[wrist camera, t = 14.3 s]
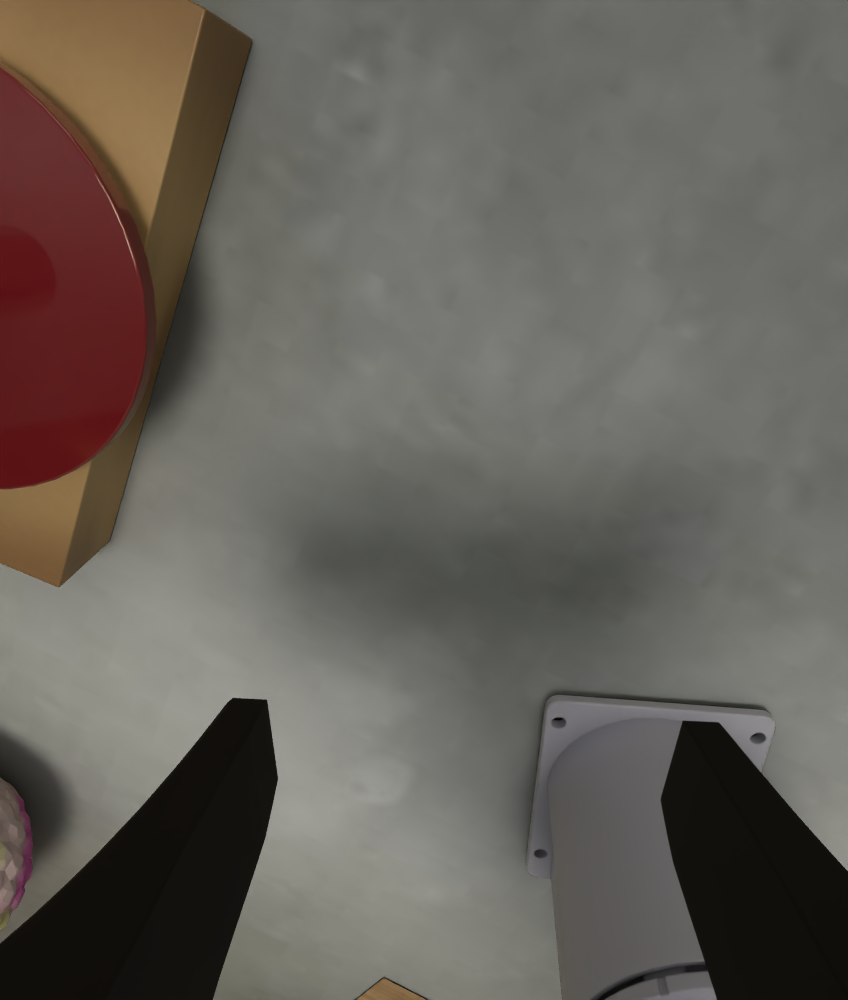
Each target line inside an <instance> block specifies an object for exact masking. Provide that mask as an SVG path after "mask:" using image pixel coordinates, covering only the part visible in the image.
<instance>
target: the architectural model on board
mask: <svg viewBox="0 0 848 1000" xmlns="http://www.w3.org/2000/svg"><path fill="white" fill-rule="evenodd" d="M357 1000H426V999H424V998H422V997H420V996H418V995H416V994H414V993H412V992H410V991H408V990H406V989H404V988H402V987H400V986H398V985H396V984H394V983H392V982H391V981H389V980H387V979H385V978H383V979H382V980H381V981H379V982H378V983H377V984H376V985H374V986H373V987H372V988H371V989H369V990H368V991H367V992H366V993H364V994H363V995H362V996H361V997H359V998H358V999H357Z"/></svg>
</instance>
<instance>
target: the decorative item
mask: <svg viewBox="0 0 848 1000" xmlns="http://www.w3.org/2000/svg"><path fill="white" fill-rule="evenodd" d="M30 825H31V822H30V818H29V816H28V815H27V813H26V811H25V808H24V800H23V799H22V798H21V797H20V796H19V794H18V793H17V791H16V790H15V789H14V788H13V786H12V785H11V784H9V783H8V782H5V781H4V780H3V779H1V778H0V930H1V929H2V928H3V927H5V926H6V925H7V924H8V920H9V918H10V915H11V912H12V911H13V910H14V909H16V908H17V907H18V905H19V903H20V901H21V899H22V897H23V895H24V892H25V888H24V886H25V884H26V882H27V881H28V879H29V878H30V876H31V871H32V867H33V866H32V859H31V858H30V857H31V856H32V850H33V843H32V829H31V828H30Z"/></svg>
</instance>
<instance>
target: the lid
mask: <svg viewBox="0 0 848 1000" xmlns="http://www.w3.org/2000/svg"><path fill="white" fill-rule="evenodd" d="M156 321H157V318H156V307H155V296H154V287H153V283H152V278H151V273H150V268H149V264H148V259H147V256H146V253H145V250H144V247H143V244H142V241H141V238H140V235H139V232H138V229H137V226H136V224H135V222H134V219H133V217H132V215H131V213H130V211H129V208H128V206H127V204H126V202H125V200H124V197H123V195H122V194H121V192H120V190H119V188H118V187H117V185H116V183H115V182H114V180H113V178H112V176H111V175H110V173H109V171H108V170H107V168H106V166H105V165H104V163H103V162H102V160H101V159H100V158H99V156H98V155H97V154H96V152H95V151H94V149H93V148H92V147H91V145H90V144H89V143H88V141H87V140H86V139H85V137H84V136H83V134H82V133H81V132H80V131H79V130H78V129H77V128H76V127H75V126H74V124H73V123H72V122H71V121H70V120H69V119H68V118H67V117H66V116H65V115H64V113H63V112H62V111H61V110H60V109H59V108H58V107H57V106H56V105H55V104H54V103H53V102H52V101H51V100H50V99H48V98H47V97H46V96H45V95H44V94H43V93H42V92H41V91H39V90H38V89H37V88H36V87H35V86H34V85H33V84H32V83H31V82H29V81H28V80H27V79H25V78H24V77H23V76H21V75H20V74H18V73H17V72H16V71H14V70H13V69H11V68H10V67H9V66H7V65H6V64H4V63H3V62H2V61H0V489H17V488H24V487H31V486H36V485H40V484H43V483H47V482H50V481H53V480H56V479H59V478H61V477H63V476H65V475H67V474H69V473H71V472H73V471H75V470H77V469H79V468H80V467H82V466H83V465H85V464H86V463H87V462H89V461H90V460H92V459H93V458H95V457H96V456H98V455H99V454H101V453H102V452H103V451H104V450H105V449H106V448H108V447H109V446H110V445H111V444H112V443H113V442H114V441H115V440H116V439H117V438H118V437H119V436H120V434H121V433H122V432H123V430H124V429H125V428H126V426H127V425H128V423H129V422H130V421H131V419H132V418H133V416H134V414H135V412H136V410H137V408H138V406H139V404H140V402H141V400H142V398H143V396H144V393H145V390H146V387H147V384H148V381H149V378H150V375H151V370H152V364H153V359H154V353H155V347H156Z"/></svg>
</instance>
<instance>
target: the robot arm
mask: <svg viewBox="0 0 848 1000" xmlns="http://www.w3.org/2000/svg"><path fill="white" fill-rule="evenodd" d="M557 717H560V718H563V719H562V720H558V721H556V720H553V719H554V718H557ZM775 728H776V723H775V721H774V719H773V718H772V716H771V714H770V713H768V712H767V711H764V710H756V709H743V708H730V707H716V706H703V705H690V704H677V703H663V702H650V701H637V700H623V699H610V698H597V697H583V696H570V695H554V696H552V697H550V698H549V699H548V700H547V701H546V704H545V711H544V719H543V727H542V735H541V743H540V751H539V759H538V767H537V775H536V783H535V791H534V799H533V807H532V815H531V823H530V831H529V839H528V847H527V855H526V870H527V872H528V873H529V874H530V875H532V876H534V877H540V878H551V883H552V894H553V905H554V916H555V928H556V939H557V950H558V961H559V972H560V983H561V994H562V1000H848V871H847V870H846V869H845V868H844V867H843V866H842V865H841V863H840V862H839V861H838V860H837V859H836V858H835V857H834V856H833V855H832V854H831V853H830V852H829V850H828V849H827V848H826V847H825V846H824V845H823V844H822V843H821V841H820V840H819V839H818V838H817V837H816V836H815V835H814V834H813V832H812V831H811V830H810V829H809V828H808V827H807V826H806V825H805V823H804V822H803V821H802V820H801V819H800V818H799V817H798V816H797V814H796V813H795V812H794V811H793V810H792V809H791V807H790V806H789V805H788V804H787V803H786V802H785V800H784V799H783V798H782V797H781V796H780V795H779V793H778V792H777V791H776V790H775V789H774V787H773V786H772V785H771V784H770V783H769V782H768V780H767V779H766V778H765V777H764V776H763V774H762V773H761V772H762V768H763V765H764V762H765V759H766V756H767V753H768V750H769V747H770V744H771V741H772V737H773V734H774V731H775ZM755 733H760V734H758V735H756V736H752V735H753V734H755ZM277 781H278V776H277V768H276V761H275V754H274V747H273V739H272V732H271V725H270V718H269V710H268V703H267V700H261V699H241V698H233V699H231V700H230V701H229V702H228V703H227V704H226V705H225V706H224V708H223V709H222V710H221V712H220V713H219V714H218V715H217V717H216V718H215V719H214V721H213V722H212V723H211V724H210V726H209V727H208V728H207V730H206V731H205V732H204V733H203V735H202V736H201V737H200V738H199V740H198V741H197V742H196V743H195V745H194V746H193V747H192V748H191V749H190V751H189V752H188V753H187V754H186V756H185V757H184V758H183V759H182V760H181V762H180V763H179V764H178V765H177V766H176V768H175V769H174V770H173V771H172V772H171V773H170V775H169V776H168V777H167V778H166V779H165V780H164V781H163V783H162V784H161V785H160V786H159V787H158V788H157V790H156V791H155V792H154V793H153V794H152V795H151V797H150V798H149V799H148V800H147V801H146V802H145V803H144V804H143V806H142V807H141V808H140V809H139V810H138V811H137V812H136V813H135V814H134V815H133V816H132V817H131V819H130V820H129V821H128V822H127V823H126V824H125V825H124V826H123V827H122V828H121V829H120V830H119V831H118V832H117V833H116V834H115V836H114V837H113V838H112V839H111V840H110V841H109V842H108V843H107V844H106V845H105V846H104V847H103V848H102V849H101V850H100V851H99V852H98V853H97V854H96V855H95V856H94V857H93V858H92V859H91V860H90V861H89V862H88V863H87V864H86V865H85V866H84V867H83V868H82V869H81V870H80V871H79V872H78V873H77V874H76V875H75V876H74V877H73V878H72V879H71V880H70V881H69V882H68V883H67V884H66V885H65V886H64V887H63V888H62V889H61V890H60V891H58V892H57V893H56V894H55V895H54V896H53V897H52V898H51V899H50V900H49V901H48V902H47V903H46V904H45V905H44V906H42V907H41V908H40V909H39V910H38V911H37V912H36V913H35V914H34V915H32V916H31V917H30V918H29V919H28V920H27V921H26V922H24V923H23V924H22V925H21V926H20V927H19V928H18V929H16V930H15V931H14V932H13V933H12V934H11V935H10V936H8V937H7V938H6V939H5V940H4V941H3V942H2V943H0V1000H213V997H214V994H215V990H216V987H217V983H218V980H219V977H220V974H221V971H222V968H223V965H224V962H225V959H226V956H227V953H228V950H229V947H230V944H231V941H232V938H233V935H234V932H235V928H236V925H237V922H238V919H239V916H240V913H241V910H242V907H243V904H244V901H245V898H246V895H247V892H248V889H249V886H250V883H251V880H252V877H253V874H254V871H255V868H256V865H257V862H258V859H259V856H260V853H261V850H262V846H263V843H264V840H265V837H266V832H267V828H268V823H269V819H270V814H271V810H272V805H273V800H274V795H275V790H276V786H277Z"/></svg>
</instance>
